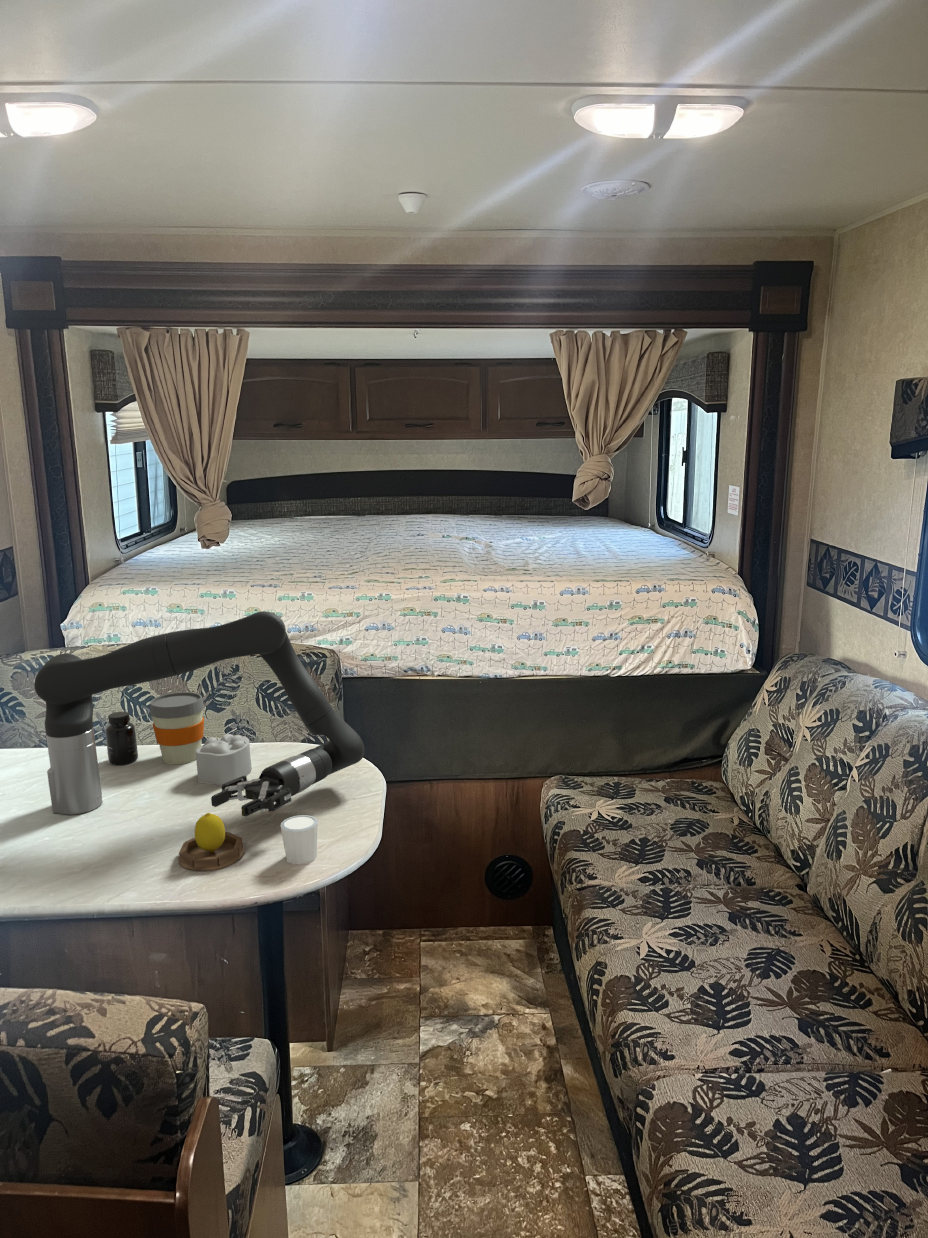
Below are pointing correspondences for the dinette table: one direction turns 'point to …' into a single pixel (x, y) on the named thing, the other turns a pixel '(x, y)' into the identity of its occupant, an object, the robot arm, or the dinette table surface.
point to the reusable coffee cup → (178, 725)
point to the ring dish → (211, 854)
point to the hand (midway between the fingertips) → (227, 807)
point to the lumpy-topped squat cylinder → (223, 759)
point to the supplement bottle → (121, 739)
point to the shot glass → (300, 838)
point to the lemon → (209, 832)
